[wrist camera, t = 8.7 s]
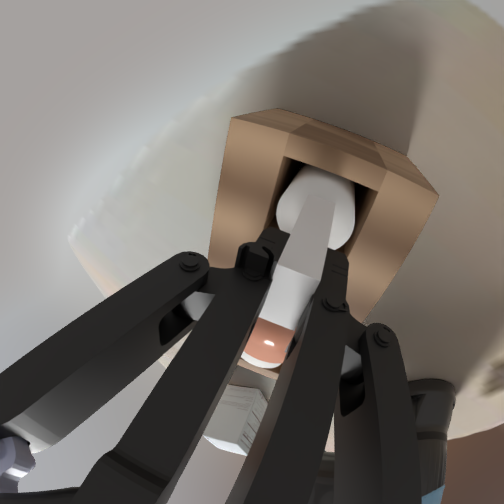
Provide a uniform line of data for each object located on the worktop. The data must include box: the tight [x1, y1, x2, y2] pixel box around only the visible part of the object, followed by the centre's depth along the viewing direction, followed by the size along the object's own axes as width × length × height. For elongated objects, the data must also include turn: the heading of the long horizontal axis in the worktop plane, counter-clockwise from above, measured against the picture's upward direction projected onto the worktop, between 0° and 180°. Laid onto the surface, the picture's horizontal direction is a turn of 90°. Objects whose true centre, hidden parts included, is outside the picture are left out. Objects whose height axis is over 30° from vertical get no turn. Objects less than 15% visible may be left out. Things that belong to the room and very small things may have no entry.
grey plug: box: [276, 163, 355, 250], centre depth 18 cm, size 4×4×9 cm
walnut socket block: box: [208, 108, 439, 380], centre depth 23 cm, size 22×12×10 cm, turn 167°
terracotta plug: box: [244, 317, 297, 363], centre depth 20 cm, size 4×4×9 cm
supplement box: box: [203, 385, 268, 456], centre depth 45 cm, size 7×7×13 cm
